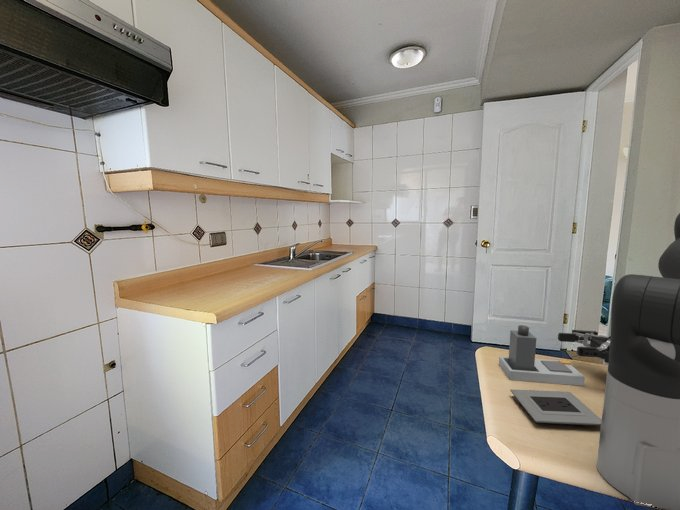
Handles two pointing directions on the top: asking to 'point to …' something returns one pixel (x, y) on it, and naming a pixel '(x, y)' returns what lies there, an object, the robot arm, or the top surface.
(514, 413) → the top surface
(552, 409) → the electrical outlet
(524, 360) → the plug
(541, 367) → the grey rectangular frame
